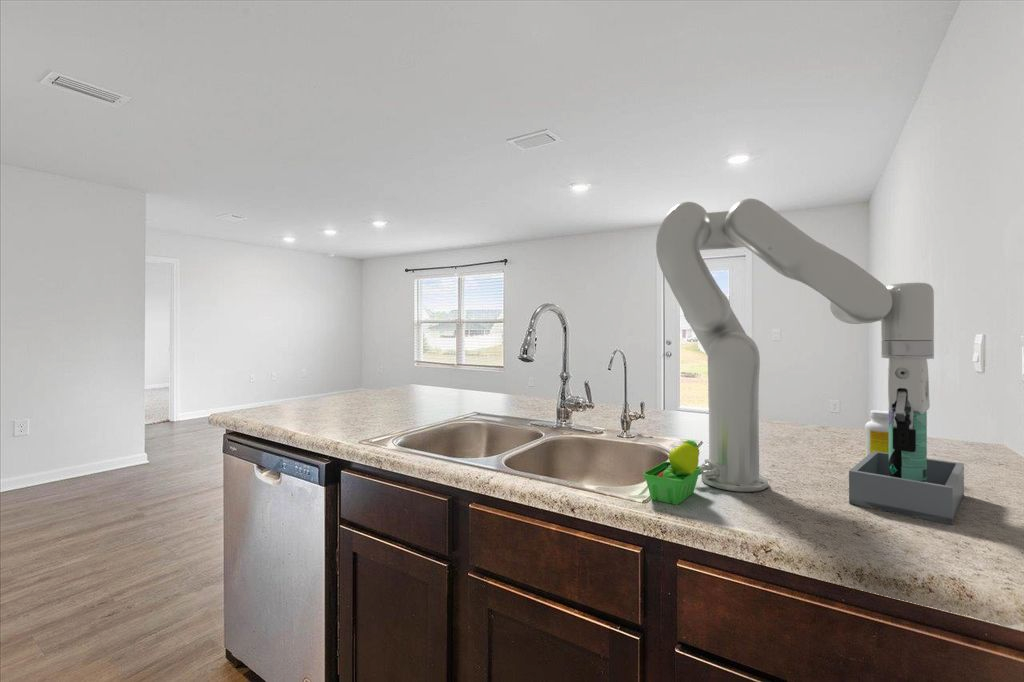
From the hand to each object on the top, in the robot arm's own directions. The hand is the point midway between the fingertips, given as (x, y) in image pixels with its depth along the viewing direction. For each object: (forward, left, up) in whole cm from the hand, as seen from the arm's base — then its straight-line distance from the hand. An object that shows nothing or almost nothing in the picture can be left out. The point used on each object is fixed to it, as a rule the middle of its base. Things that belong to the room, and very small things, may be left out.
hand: (907, 446), depth 90 cm
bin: (0, 0, -10) cm, 10 cm away
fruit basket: (-40, +13, -10) cm, 43 cm away
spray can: (0, 0, -7) cm, 7 cm away
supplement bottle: (+15, +17, -10) cm, 25 cm away
